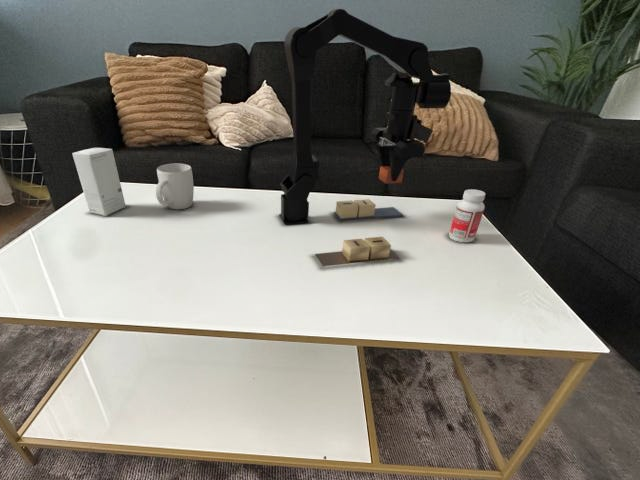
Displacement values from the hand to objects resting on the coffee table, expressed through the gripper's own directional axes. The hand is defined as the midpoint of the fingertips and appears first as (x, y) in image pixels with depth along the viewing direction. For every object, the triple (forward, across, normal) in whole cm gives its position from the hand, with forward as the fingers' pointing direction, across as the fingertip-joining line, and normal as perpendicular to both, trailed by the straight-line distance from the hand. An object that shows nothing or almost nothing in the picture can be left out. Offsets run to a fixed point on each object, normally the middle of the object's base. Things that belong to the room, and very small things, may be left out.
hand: (390, 178), depth 106 cm
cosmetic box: (+10, +18, +74) cm, 76 cm away
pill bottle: (+10, -18, -12) cm, 24 cm away
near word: (+10, -24, +18) cm, 31 cm away
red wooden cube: (+1, 0, 0) cm, 1 cm away
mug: (+10, +16, +56) cm, 59 cm away
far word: (+10, 0, +5) cm, 11 cm away
